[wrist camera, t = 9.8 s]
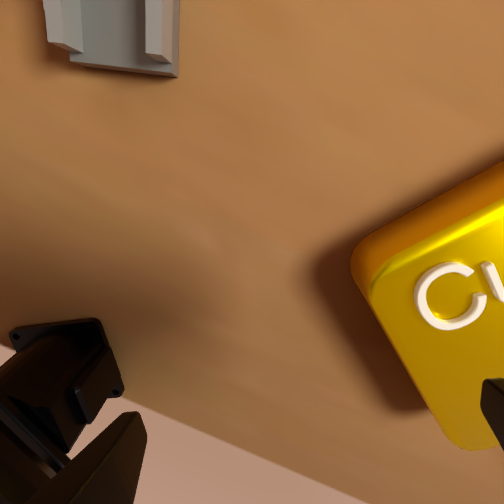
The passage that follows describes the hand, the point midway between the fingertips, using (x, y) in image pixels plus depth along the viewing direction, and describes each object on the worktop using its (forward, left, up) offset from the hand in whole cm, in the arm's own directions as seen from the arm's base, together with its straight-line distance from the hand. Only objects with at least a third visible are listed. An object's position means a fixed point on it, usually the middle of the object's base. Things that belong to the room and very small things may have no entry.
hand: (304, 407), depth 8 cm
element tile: (+13, -4, -13) cm, 19 cm away
